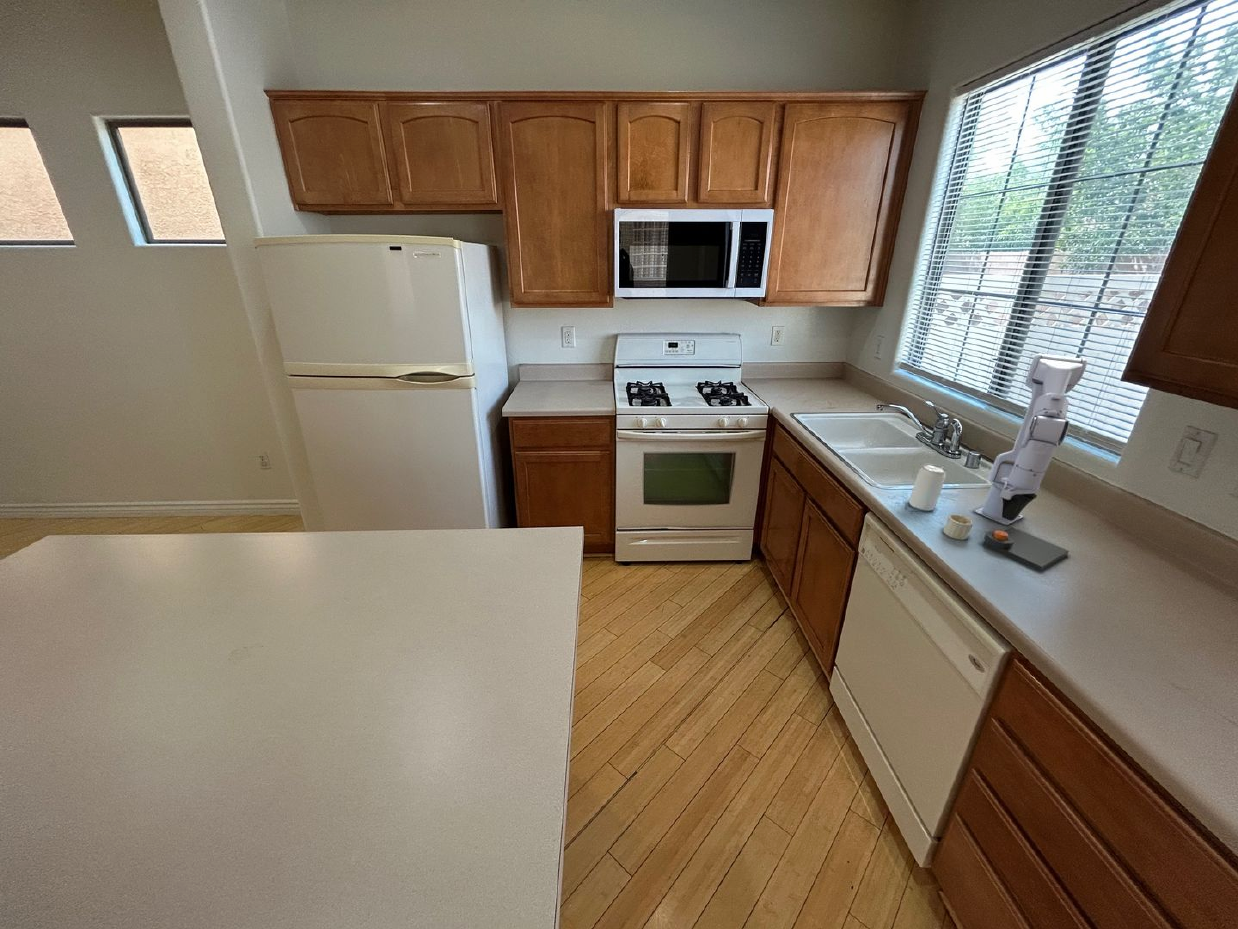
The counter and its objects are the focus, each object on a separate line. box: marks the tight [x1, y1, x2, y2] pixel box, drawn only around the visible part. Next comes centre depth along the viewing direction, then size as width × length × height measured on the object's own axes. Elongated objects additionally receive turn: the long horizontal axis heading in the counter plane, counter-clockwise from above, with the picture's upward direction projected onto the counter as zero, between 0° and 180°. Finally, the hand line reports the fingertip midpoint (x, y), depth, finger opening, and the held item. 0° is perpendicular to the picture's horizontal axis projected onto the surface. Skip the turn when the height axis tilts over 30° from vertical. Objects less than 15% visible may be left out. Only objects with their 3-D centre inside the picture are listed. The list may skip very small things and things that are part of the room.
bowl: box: [943, 513, 974, 541], centre depth 121 cm, size 5×5×4 cm
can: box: [908, 463, 947, 512], centre depth 133 cm, size 6×6×12 cm
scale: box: [982, 526, 1069, 572], centre depth 116 cm, size 15×13×3 cm
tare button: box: [993, 529, 1008, 541], centre depth 116 cm, size 3×3×2 cm
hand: (1007, 518), depth 114 cm, fingers closed
